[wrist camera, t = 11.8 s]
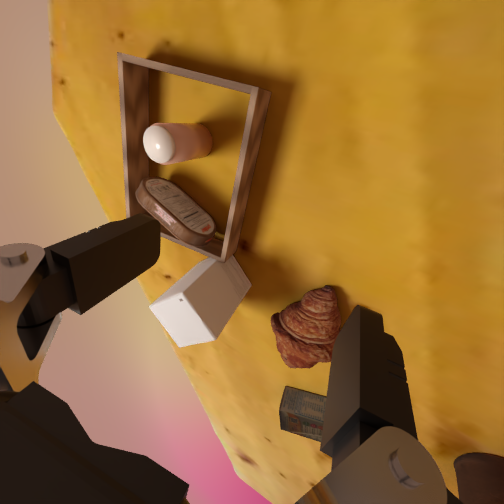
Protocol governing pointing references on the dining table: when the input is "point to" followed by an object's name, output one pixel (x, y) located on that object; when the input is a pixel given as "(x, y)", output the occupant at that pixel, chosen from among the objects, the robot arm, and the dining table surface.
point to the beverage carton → (302, 413)
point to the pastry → (308, 329)
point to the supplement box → (202, 301)
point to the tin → (176, 211)
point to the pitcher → (480, 478)
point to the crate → (137, 159)
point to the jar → (176, 142)
